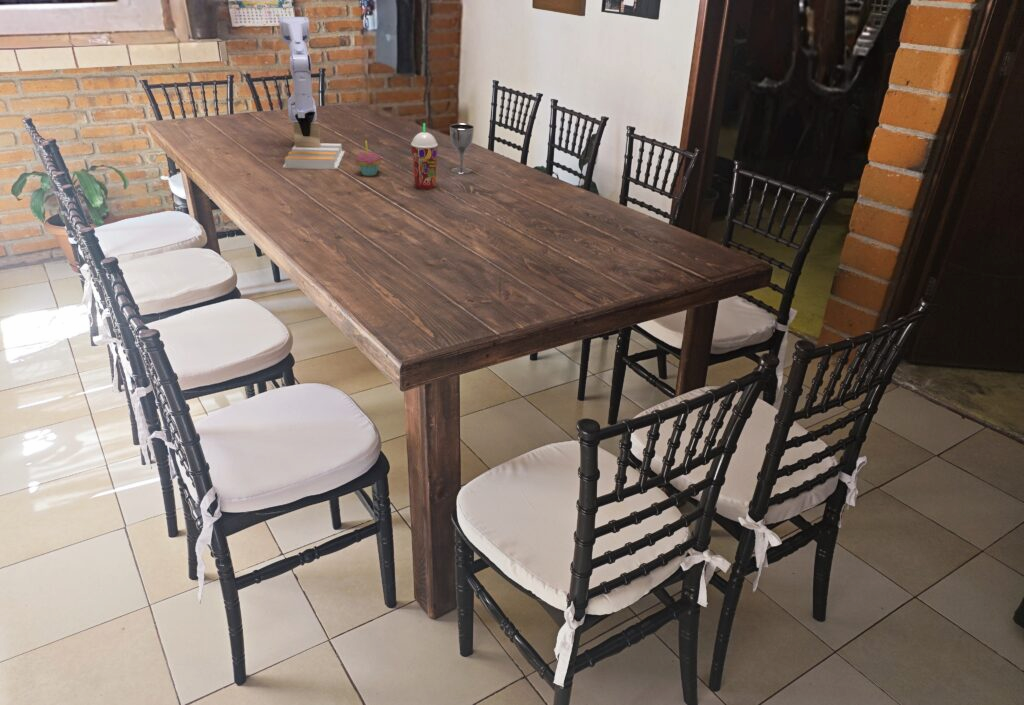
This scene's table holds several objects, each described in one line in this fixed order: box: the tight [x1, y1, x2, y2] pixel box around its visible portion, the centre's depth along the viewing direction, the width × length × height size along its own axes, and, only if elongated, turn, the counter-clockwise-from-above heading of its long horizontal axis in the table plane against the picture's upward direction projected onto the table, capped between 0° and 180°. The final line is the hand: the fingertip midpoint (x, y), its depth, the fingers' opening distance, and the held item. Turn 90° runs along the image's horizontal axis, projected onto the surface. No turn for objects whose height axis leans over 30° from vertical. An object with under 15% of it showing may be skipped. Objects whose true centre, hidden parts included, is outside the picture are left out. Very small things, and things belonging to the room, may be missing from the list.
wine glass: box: [449, 123, 475, 174], centre depth 256 cm, size 8×8×15 cm
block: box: [292, 121, 321, 148], centre depth 252 cm, size 2×8×8 cm, turn 94°
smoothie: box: [410, 122, 439, 190], centre depth 237 cm, size 8×8×20 cm
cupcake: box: [355, 140, 382, 177], centre depth 248 cm, size 9×8×12 cm
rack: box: [282, 142, 346, 170], centre depth 262 cm, size 22×18×3 cm
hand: (307, 135), depth 253 cm, fingers closed on block, 2 cm apart
